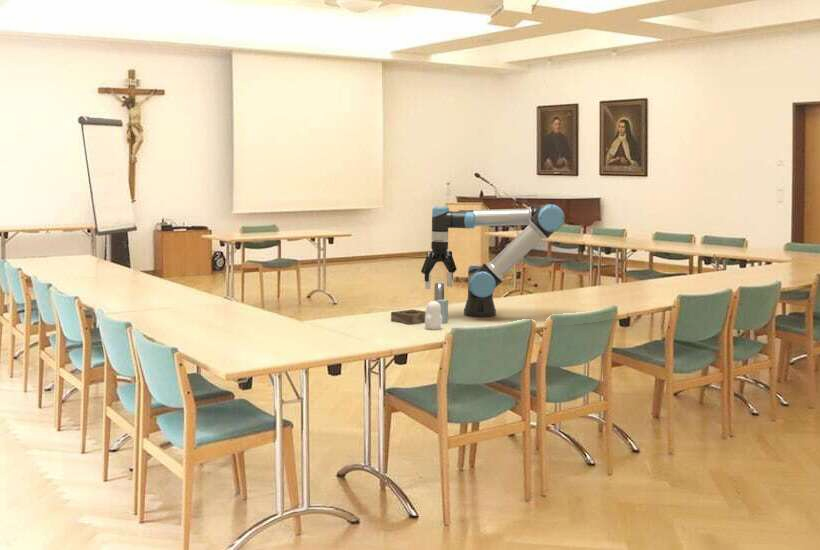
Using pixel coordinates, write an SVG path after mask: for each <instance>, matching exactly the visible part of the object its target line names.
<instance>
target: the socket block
mask: <svg viewBox="0 0 820 550" xmlns="http://www.w3.org/2000/svg"><path fill="white" fill-rule="evenodd" d="M425 314H426V310H419V309H413V308H411V309H405V310H398V311H391V312H390V321H391V322H395V323H400V324H404V323H405V325H409V324H410V326H411V325H412V324H413V325H418V324H425ZM413 325H412V326H413Z"/></svg>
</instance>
